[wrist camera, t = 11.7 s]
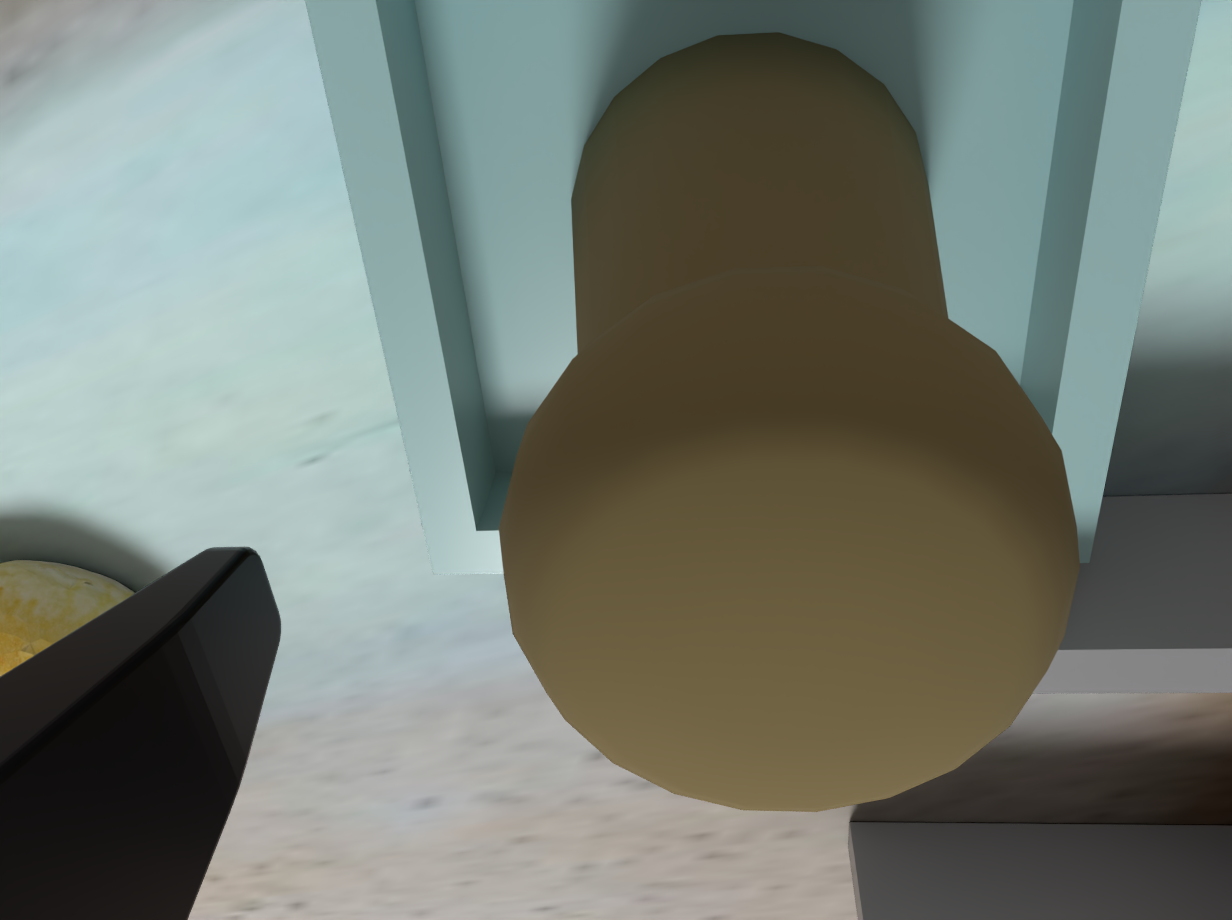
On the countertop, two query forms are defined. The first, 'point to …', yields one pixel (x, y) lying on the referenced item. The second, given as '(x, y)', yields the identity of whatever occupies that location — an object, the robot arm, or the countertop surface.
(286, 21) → the countertop surface
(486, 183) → the tray
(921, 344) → the cork
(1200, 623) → the bay
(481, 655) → the countertop surface
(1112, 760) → the countertop surface
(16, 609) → the bread roll
